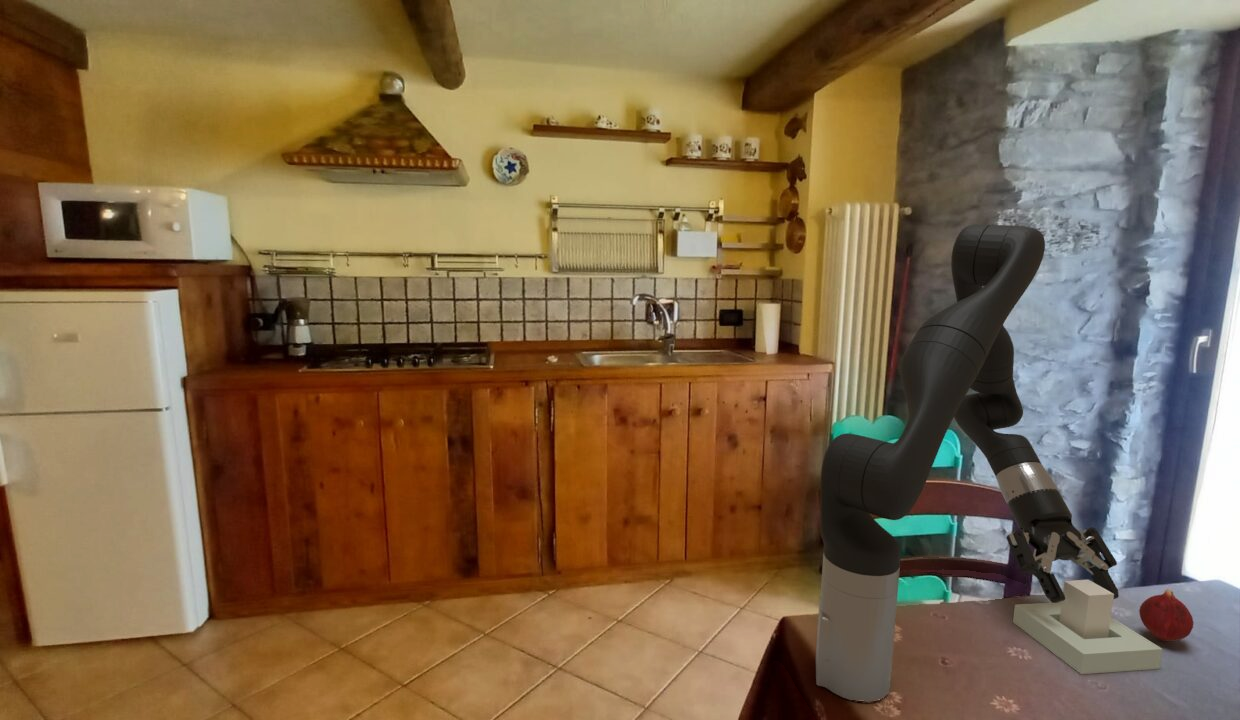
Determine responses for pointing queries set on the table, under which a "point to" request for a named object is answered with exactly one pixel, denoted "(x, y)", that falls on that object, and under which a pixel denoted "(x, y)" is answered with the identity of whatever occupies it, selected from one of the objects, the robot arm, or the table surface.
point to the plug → (1086, 609)
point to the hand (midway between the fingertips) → (1085, 600)
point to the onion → (1166, 617)
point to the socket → (1087, 642)
